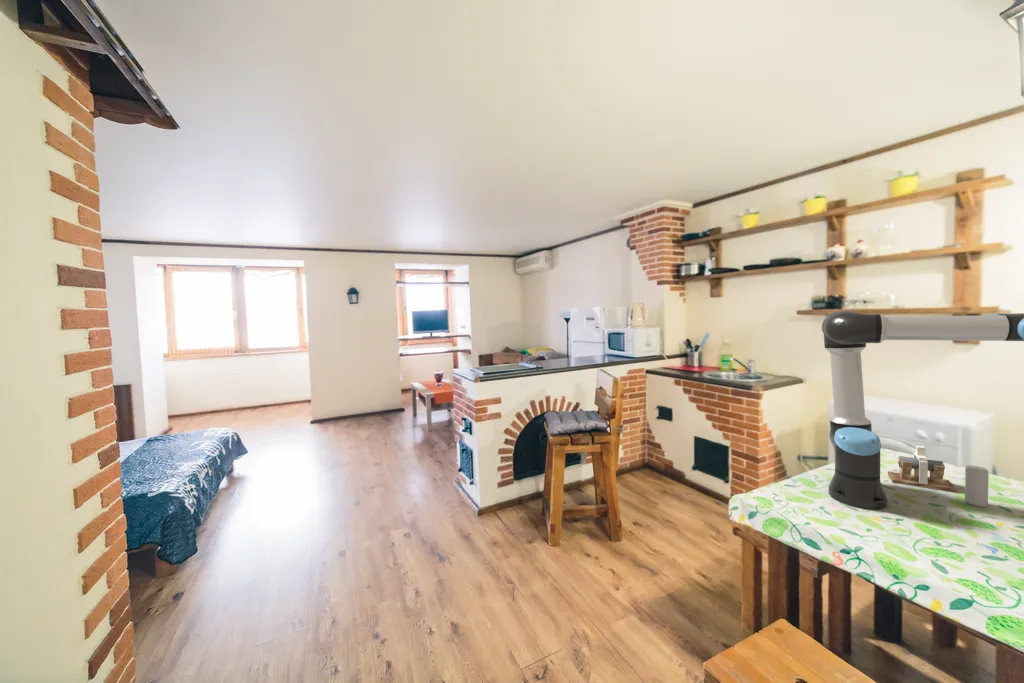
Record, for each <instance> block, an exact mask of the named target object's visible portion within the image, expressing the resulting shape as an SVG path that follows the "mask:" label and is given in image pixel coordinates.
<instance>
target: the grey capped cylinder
mask: <svg viewBox="0 0 1024 683" xmlns="http://www.w3.org/2000/svg"><path fill="white" fill-rule="evenodd" d="M902 461H906V462H911V463H912V470H914V469H919V460H918V459H917V458H914V457H911V456H902V455H898V458H897V464H898V468H899V467H902ZM927 462H928V472H930V471H933V465H937V466H943V467H944V471H945V469H946V467H945V464H944V462H943V460H934V459H928V458H927Z"/></svg>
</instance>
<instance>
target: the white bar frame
mask: <svg viewBox="0 0 1024 683" xmlns="http://www.w3.org/2000/svg"><path fill="white" fill-rule="evenodd" d="M913 458H917V459H918V460H919V469H912V470H913V474H912V475H916V476H919V483H920V484H927V483H928V477H929V474H928V472H929V471H928V462H927V459H928V458H927V457H926V447H925V446H924V445H916V446H915V451H913Z"/></svg>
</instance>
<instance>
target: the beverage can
mask: <svg viewBox="0 0 1024 683" xmlns="http://www.w3.org/2000/svg"><path fill="white" fill-rule="evenodd" d="M964 472H965V473H964V477H965V478H964V480H965V481H964V501H965V502H966V503H967V504H969V505H970V506H974V507H980V508H985V507H988V505H989V475H990V474H989V470H988V469H987V468H985V467H982V466H978V465H971V464H970V465H969V464H968V465H966V466H965V470H964Z"/></svg>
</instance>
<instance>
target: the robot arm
mask: <svg viewBox="0 0 1024 683" xmlns="http://www.w3.org/2000/svg"><path fill="white" fill-rule="evenodd" d="M821 332H822V334H823V342H824V349H825V350H826V351H827V352H829V354H830V368H831V371H830V372H831V383H832V384H831V385H832V395H833V396H832V398H833V411H834V412H833V413H834V415H833V416H832V417H830V418H829V426H830V427H829V428H830V430H829V435H828V436H829V440H830V443H831V444H832V447H833V449H834V474H833V476H832V479H831V481H830V483H829V485H828V495H829V496H830V497H831V498H832V499H834V500H836V501H838V502H840V503H842V504H845V505H848V506H851V507H852V506H853V507H856V508H861V509H862V508H863V509H871V510H880V509H884V508H886V507H888V497H887V494H886V492H885V489H884V486H883V484H882V483H881V482H882V481H881V449H882V442H881V438H880V437H879V435H878V434H876V433H875V432H873V430H872V421H871V420H870V419H869V418H867V416H866V410H865V407H866V406H865V394H864V383H863V382H864V379H863V369H862V368H863V367H862V366H863V365H862V362H863V361H862V351H864V350H865V349H866V348H867V344H881V343H883V342H884V341H958V342H959V341H962V342H963V341H969V342H970V341H971V342H972V341H973V342H974V341H975V342H977V341H979V342H982V341H983V342H984V341H985V342H986V341H989V342H991V341H992V342H993V341H994V342H995V341H997V342H1024V313H1021V312H1019V313H993V314H990V313H989V314H985V315H984V314H983V315H938V316H937V315H933V316H931V315H930V316H929V315H927V316H926V315H925V316H922V315H921V316H884V315H883V314H882V313H878V314H877V313H874V314H873V313H862V312H861V313H860V312H855V311H850V310H838V311H834V312H832V313H830V314H828V315H827V316H826V317H825V318H824V320H823V322H822V323H821Z"/></svg>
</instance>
